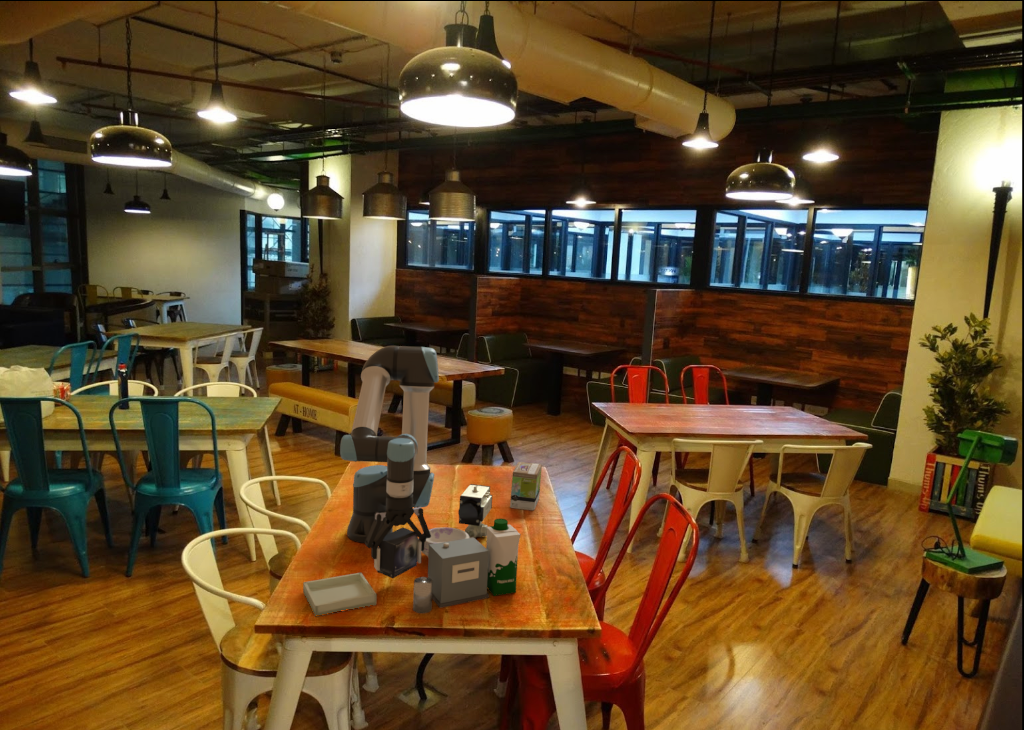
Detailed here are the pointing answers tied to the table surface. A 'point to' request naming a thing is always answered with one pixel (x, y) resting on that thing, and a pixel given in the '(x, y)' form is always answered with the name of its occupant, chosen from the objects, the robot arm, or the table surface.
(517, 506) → the tea box
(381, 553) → the small box
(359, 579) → the tray
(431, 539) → the paper bowls
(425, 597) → the grey cylinder
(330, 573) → the table surface
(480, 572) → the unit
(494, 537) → the milk carton
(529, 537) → the table surface
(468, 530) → the ball valve
